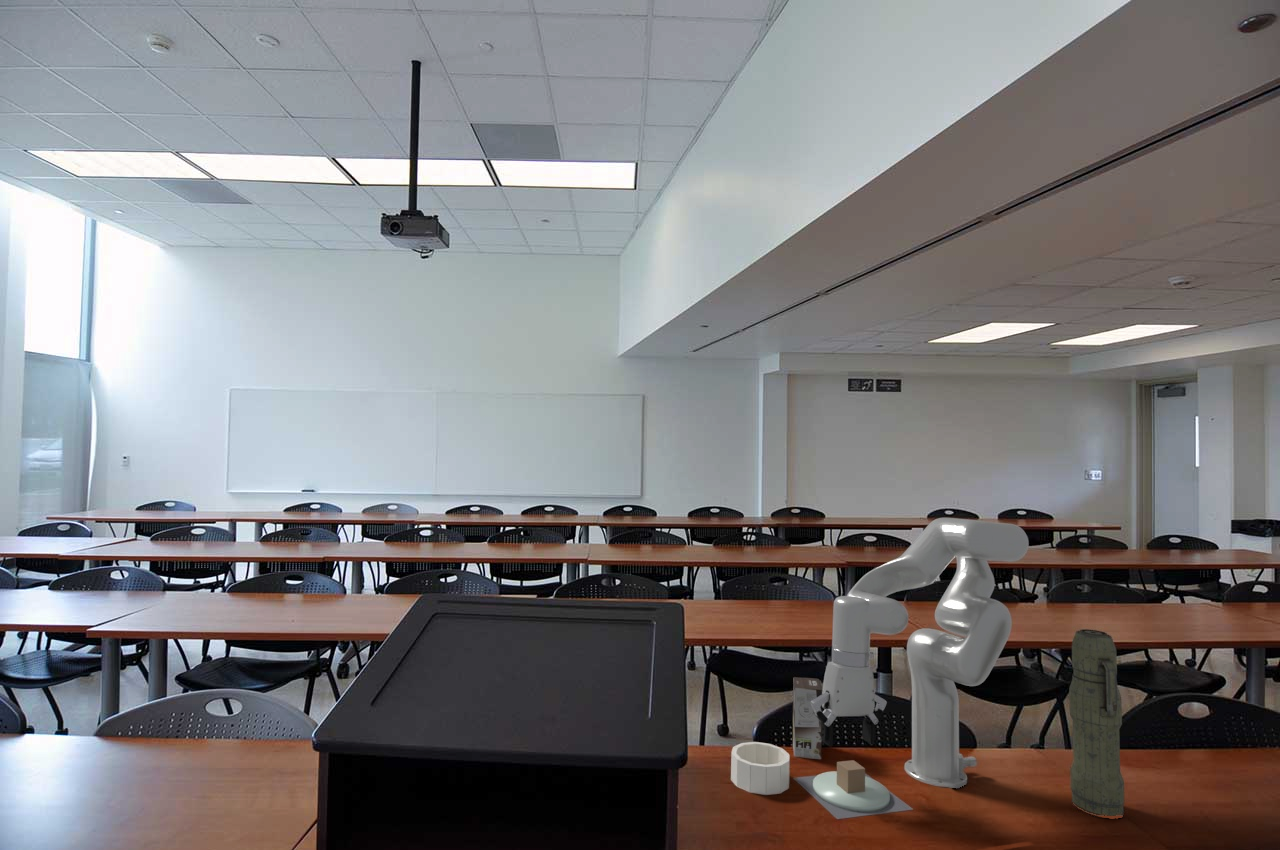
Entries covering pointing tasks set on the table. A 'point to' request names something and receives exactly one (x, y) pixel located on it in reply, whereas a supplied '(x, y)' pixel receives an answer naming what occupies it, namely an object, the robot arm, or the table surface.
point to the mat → (840, 813)
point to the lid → (851, 788)
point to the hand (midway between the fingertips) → (847, 742)
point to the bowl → (760, 768)
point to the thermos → (1096, 725)
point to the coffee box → (806, 718)
